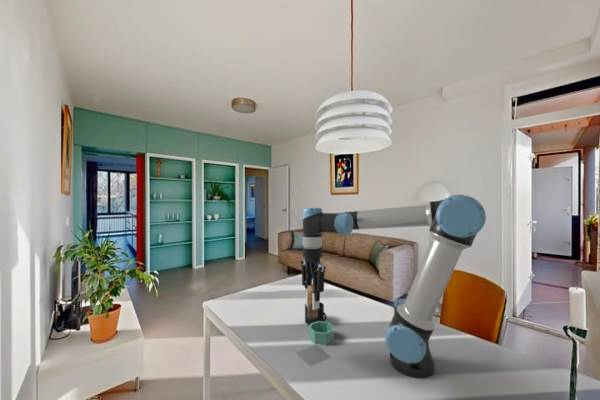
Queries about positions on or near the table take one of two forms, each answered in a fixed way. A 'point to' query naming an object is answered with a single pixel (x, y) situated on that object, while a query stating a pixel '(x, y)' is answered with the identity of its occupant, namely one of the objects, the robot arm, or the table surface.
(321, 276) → the robot arm
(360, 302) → the table surface
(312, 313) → the dowel
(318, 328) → the teal octagonal bowl
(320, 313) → the mug
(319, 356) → the coaster
